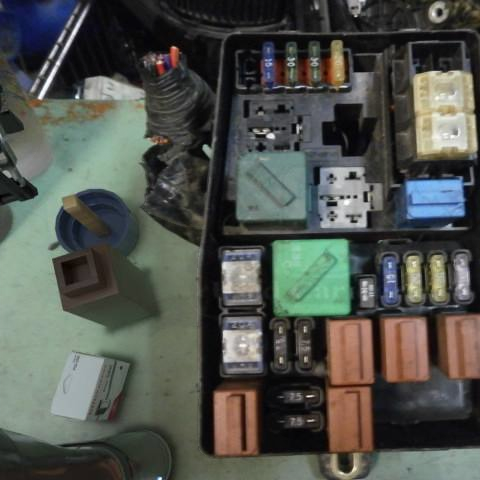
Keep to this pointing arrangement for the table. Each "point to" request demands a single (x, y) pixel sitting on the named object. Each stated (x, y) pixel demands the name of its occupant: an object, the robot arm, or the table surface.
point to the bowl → (110, 211)
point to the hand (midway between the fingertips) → (22, 162)
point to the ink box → (89, 387)
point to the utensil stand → (102, 286)
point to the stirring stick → (85, 215)
